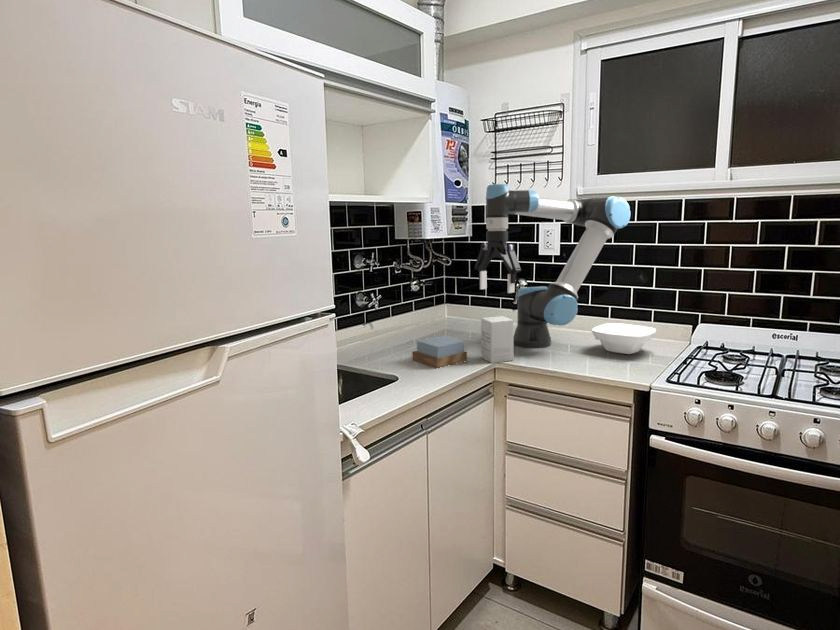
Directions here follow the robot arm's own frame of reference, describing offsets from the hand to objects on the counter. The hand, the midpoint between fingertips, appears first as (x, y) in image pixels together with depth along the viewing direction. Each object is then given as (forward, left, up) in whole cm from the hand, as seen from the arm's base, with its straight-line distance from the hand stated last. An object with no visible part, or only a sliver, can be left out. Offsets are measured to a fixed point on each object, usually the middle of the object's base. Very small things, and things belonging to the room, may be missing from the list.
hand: (496, 290), depth 189 cm
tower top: (+17, -11, -22) cm, 30 cm away
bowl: (-42, +24, -25) cm, 55 cm away
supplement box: (0, 0, -25) cm, 25 cm away
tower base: (+17, -12, -26) cm, 33 cm away
